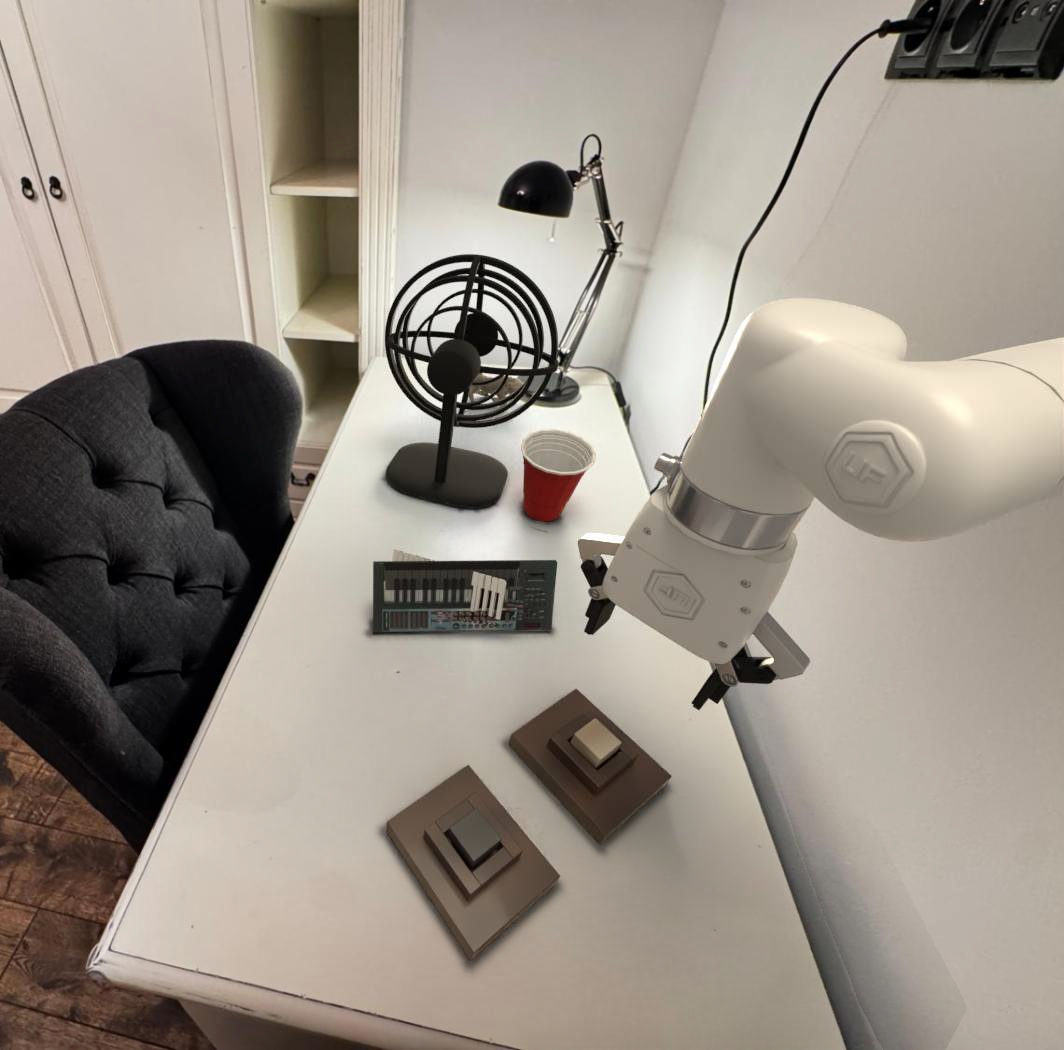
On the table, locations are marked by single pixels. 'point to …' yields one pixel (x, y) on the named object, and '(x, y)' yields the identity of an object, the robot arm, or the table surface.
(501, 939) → the table surface
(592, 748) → the key ivory
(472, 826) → the key ebony
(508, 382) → the dog figurine
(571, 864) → the table surface
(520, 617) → the synthesizer keyboard
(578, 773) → the key block
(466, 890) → the key block
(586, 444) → the plastic cup
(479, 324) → the desk fan
